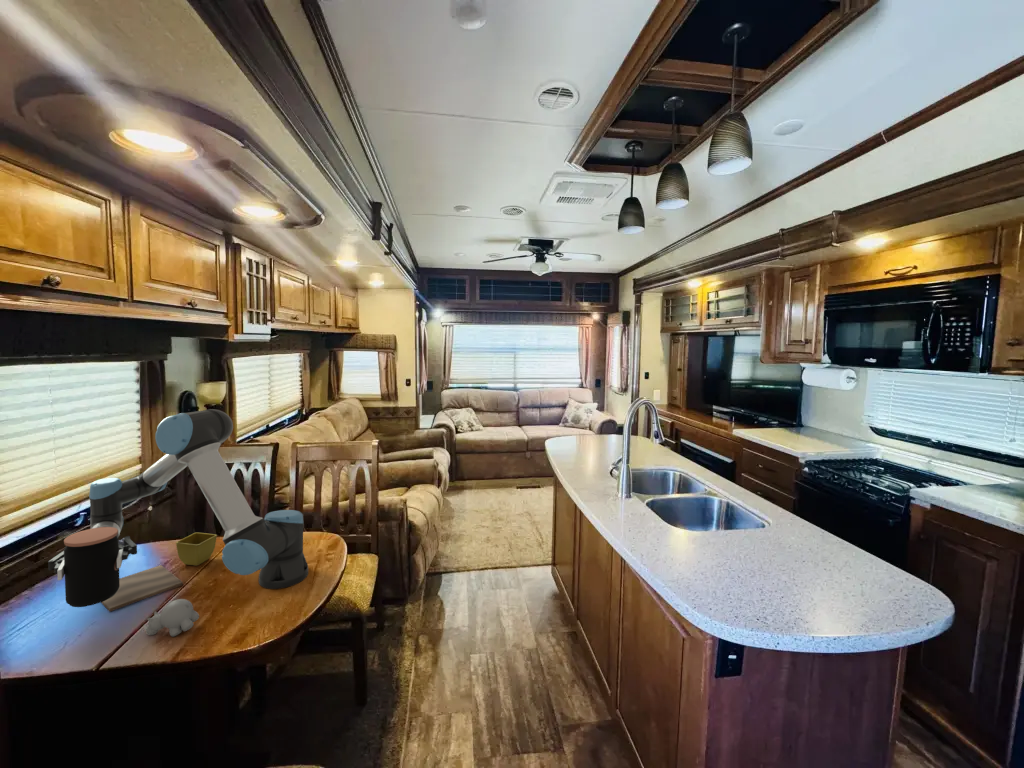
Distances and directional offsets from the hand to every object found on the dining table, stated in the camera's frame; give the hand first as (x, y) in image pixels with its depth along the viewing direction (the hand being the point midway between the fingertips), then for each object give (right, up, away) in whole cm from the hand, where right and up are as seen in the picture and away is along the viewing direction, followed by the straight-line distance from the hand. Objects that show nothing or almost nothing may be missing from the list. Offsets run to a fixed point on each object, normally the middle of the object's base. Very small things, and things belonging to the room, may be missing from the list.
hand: (90, 569), depth 113 cm
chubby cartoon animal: (+19, -19, +3) cm, 27 cm away
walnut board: (-7, -16, +23) cm, 29 cm away
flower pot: (-1, -15, +40) cm, 43 cm away
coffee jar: (-3, -10, +4) cm, 11 cm away
